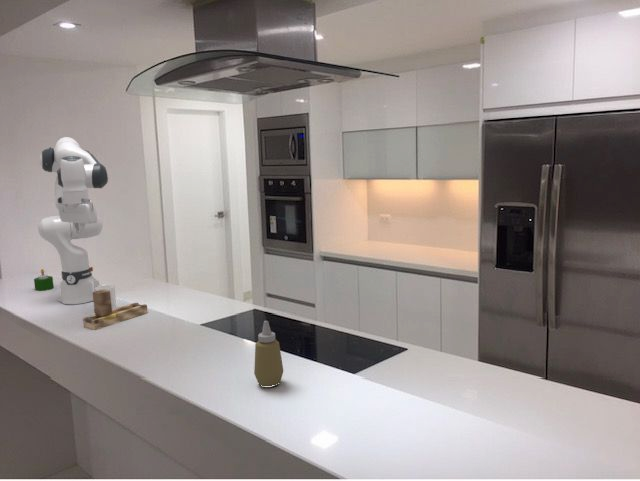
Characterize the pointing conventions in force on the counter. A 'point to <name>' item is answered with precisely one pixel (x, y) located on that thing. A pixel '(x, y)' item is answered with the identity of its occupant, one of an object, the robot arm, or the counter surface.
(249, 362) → the counter surface
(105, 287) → the white cup
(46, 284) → the candle
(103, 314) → the plate
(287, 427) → the counter surface
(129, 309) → the beam
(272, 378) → the squeeze bottle
